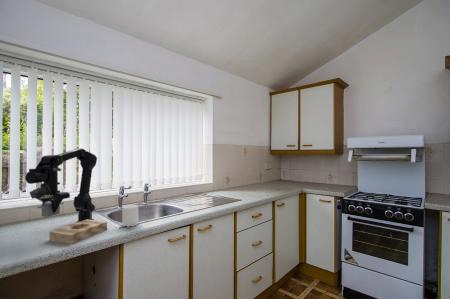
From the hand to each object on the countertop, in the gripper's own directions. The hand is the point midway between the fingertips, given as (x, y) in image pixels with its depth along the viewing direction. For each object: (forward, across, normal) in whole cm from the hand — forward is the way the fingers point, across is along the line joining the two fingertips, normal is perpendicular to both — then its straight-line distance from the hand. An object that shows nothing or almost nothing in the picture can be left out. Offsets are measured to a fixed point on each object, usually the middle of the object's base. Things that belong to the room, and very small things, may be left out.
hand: (50, 212), depth 117 cm
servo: (+1, 0, 0) cm, 1 cm away
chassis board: (+11, +13, +5) cm, 18 cm away
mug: (+12, +25, +26) cm, 38 cm away
